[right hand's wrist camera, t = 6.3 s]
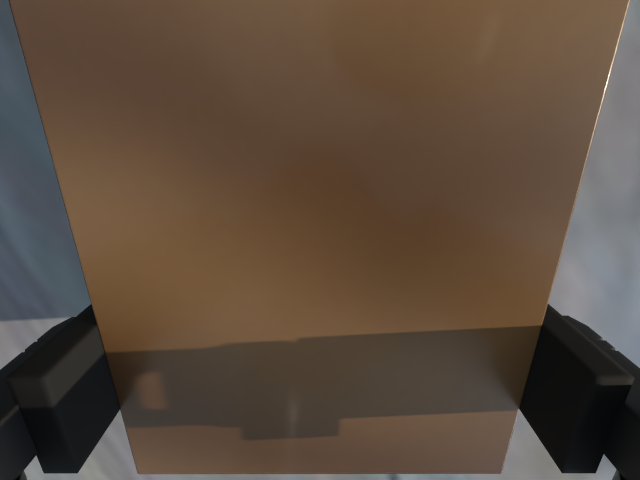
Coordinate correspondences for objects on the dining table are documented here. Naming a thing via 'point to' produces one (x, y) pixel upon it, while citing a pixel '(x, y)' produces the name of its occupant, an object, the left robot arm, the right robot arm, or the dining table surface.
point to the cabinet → (319, 216)
